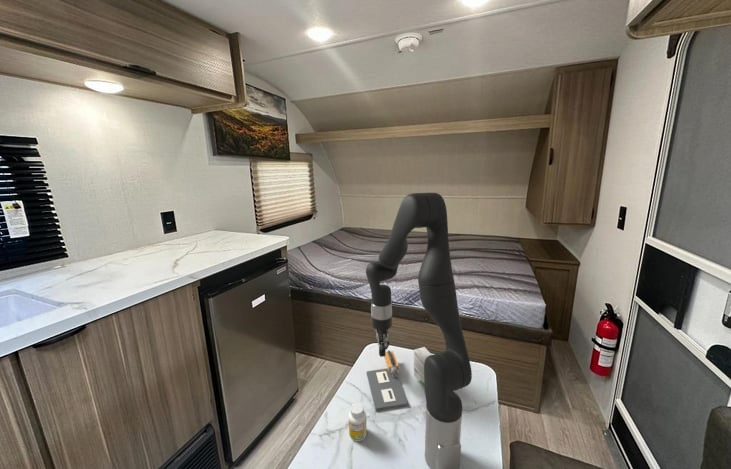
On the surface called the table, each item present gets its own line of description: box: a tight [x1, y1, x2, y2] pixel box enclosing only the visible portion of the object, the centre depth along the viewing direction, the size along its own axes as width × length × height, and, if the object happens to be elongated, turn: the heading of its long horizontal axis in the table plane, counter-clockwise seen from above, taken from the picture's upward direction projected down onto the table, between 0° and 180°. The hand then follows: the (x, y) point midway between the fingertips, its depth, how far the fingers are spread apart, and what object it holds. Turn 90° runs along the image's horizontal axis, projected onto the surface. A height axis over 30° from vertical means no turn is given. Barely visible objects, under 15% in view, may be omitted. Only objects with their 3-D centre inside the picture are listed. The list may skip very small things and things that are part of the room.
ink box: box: [413, 346, 433, 390], centre depth 108 cm, size 8×5×12 cm, turn 21°
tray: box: [366, 367, 408, 412], centre depth 106 cm, size 18×11×3 cm, turn 10°
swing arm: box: [383, 349, 400, 376], centre depth 113 cm, size 4×11×3 cm, turn 8°
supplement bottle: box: [347, 402, 368, 442], centre depth 87 cm, size 5×5×10 cm
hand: (382, 355), depth 107 cm, fingers closed
